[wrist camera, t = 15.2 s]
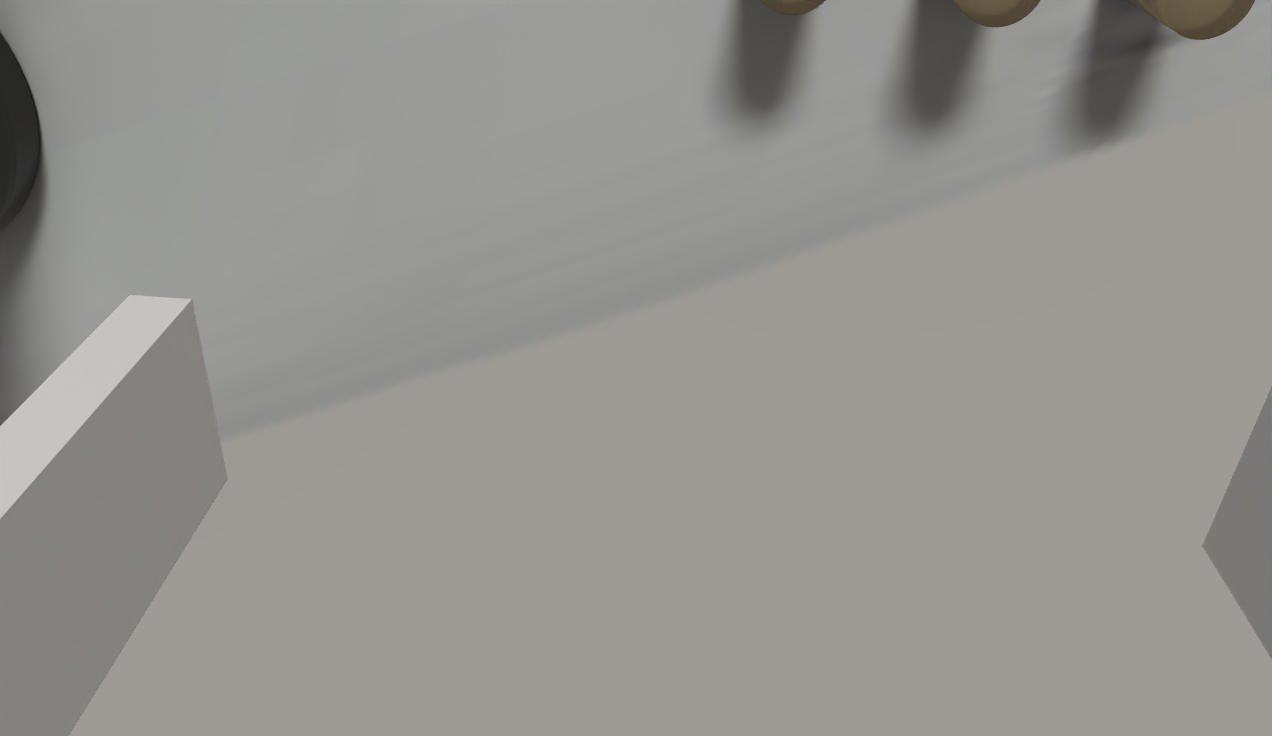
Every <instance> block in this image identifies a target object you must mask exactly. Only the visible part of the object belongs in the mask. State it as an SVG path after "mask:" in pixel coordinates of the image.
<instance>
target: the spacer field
mask: <svg viewBox="0 0 1272 736" xmlns="http://www.w3.org/2000/svg"><path fill="white" fill-rule="evenodd" d="M761 1H762V2H763V3H764V4H765V5H766V6H767V7H768V8H770V9H772V10H773V11H776V12H778V13H781V14H786V15H798V14H803V13H807V12H809V11H811V10H813V9H815V8H817V7H818V6H820V5H821V4H822V3H823V2H824V1H825V0H761ZM953 1H954V2H955V3H956V4H957V5H958V6H959V7H960V8H961V10H962V11H963V12H964V13H965V14H966V15H967V16H968V17H969V18H970V19H971V20H973V21H974V22H976V23H978V24H980V25H983V26H987V27H1003V26H1007V25H1011V24H1013V23H1016V22H1018V21H1020V20H1021V19H1023V18H1024V17H1026V16H1027V15H1028V14H1029V13H1030V12H1032V10H1033V9H1034V8H1035V7H1036V6H1037V5H1038V3H1039V2H1040V0H953ZM1127 1H1129V2H1130V3H1132V4H1134V5H1135V6H1137V7H1138V8H1140V9H1141V10H1143V11H1144V12H1146V13H1147V14H1149V15H1151V16H1152V17H1154V18H1155V19H1157V20H1158V21H1160V22H1161V23H1163V24H1164V25H1166V26H1167V27H1169V28H1171V29H1172V30H1174V31H1175V32H1177V33H1178V34H1180V35H1181V36H1184V37H1186V38H1190V39H1196V40H1203V39H1210V38H1214V37H1217V36H1219V35H1222V34H1224V33H1226V32H1227V31H1229V30H1230V29H1232V28H1233V27H1235V26H1236V25H1237V24H1238V23H1239V22H1240V21H1241V20H1242V19H1243V18H1244V17H1245V16H1246V15H1247V13H1248V12H1249V10H1250V9H1251V7H1252V5H1253V3H1254V1H1255V0H1127Z"/></svg>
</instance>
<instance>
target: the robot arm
mask: <svg viewBox="0 0 1272 736" xmlns="http://www.w3.org/2000/svg"><path fill="white" fill-rule="evenodd" d="M38 156H39V136H38V126H37V119H36V114H35V109H34V105H33V102H32V98H31V95H30V92H29V89H28V86H27V83H26V81H25V78H24V76H23V74H22V71H21V69H20V67H19V65H18V63H17V61H16V59H15V57H14V55H13V53H12V51H11V50H10V48H9V46H8V45H7V43H6V41H5V40H4V38H3V37H2V35H1V34H0V230H1V229H2V228H3V227H5V226H6V225H7V224H8V223H9V222H10V221H11V220H12V219H13V218H14V217H15V215H16V214H17V213H18V212H19V210H20V209H21V207H22V206H23V204H24V203H25V201H26V199H27V197H28V195H29V193H30V191H31V188H32V186H33V182H34V179H35V176H36V171H37V165H38ZM226 481H227V474H226V469H225V464H224V458H223V453H222V449H221V443H220V438H219V433H218V428H217V423H216V418H215V413H214V408H213V403H212V398H211V393H210V388H209V383H208V378H207V373H206V368H205V363H204V358H203V353H202V348H201V342H200V337H199V332H198V327H197V322H196V317H195V312H194V307H193V302H192V299H180V298H165V297H150V296H135V295H129V296H128V297H127V298H126V299H125V300H124V301H123V302H122V303H121V304H120V305H119V306H118V308H117V309H116V310H115V311H114V312H113V313H112V314H111V315H110V316H109V317H108V318H107V319H106V320H105V321H104V322H103V323H102V324H101V325H100V326H99V327H98V328H97V329H96V330H95V331H94V332H93V333H92V334H91V335H90V336H89V337H88V338H87V339H86V340H85V341H84V342H83V343H82V344H81V345H80V346H79V347H78V348H77V349H76V350H75V351H74V352H73V353H72V354H71V355H70V356H69V357H68V358H67V359H66V360H65V361H64V362H63V363H62V364H61V365H60V366H59V367H58V368H57V369H56V370H55V371H54V372H53V373H52V374H51V375H50V376H49V377H48V378H47V379H46V380H45V381H44V382H43V383H42V384H41V385H40V387H39V388H38V389H37V390H36V391H35V392H34V393H33V394H32V395H31V396H30V397H29V398H28V399H27V400H26V401H25V402H24V403H23V404H22V405H21V406H20V407H19V408H18V409H17V410H16V411H15V412H14V413H13V414H12V415H11V416H10V417H9V418H8V419H7V420H6V421H5V422H4V423H3V424H2V425H1V426H0V736H69V734H70V733H71V731H72V729H73V728H74V726H75V725H76V723H77V721H78V720H79V718H80V716H81V715H82V713H83V712H84V710H85V709H86V707H87V705H88V704H89V702H90V700H91V699H92V697H93V696H94V694H95V692H96V691H97V689H98V688H99V686H100V684H101V683H102V681H103V679H104V678H105V676H106V675H107V673H108V671H109V670H110V668H111V666H112V665H113V663H114V661H115V660H116V658H117V657H118V655H119V654H120V652H121V650H122V649H123V647H124V645H125V644H126V642H127V641H128V639H129V637H130V636H131V634H132V632H133V631H134V629H135V628H136V626H137V624H138V623H139V621H140V620H141V618H142V616H143V615H144V613H145V611H146V610H147V608H148V606H149V605H150V603H151V602H152V600H153V599H154V597H155V595H156V594H157V592H158V591H159V589H160V587H161V586H162V584H163V582H164V581H165V579H166V578H167V576H168V574H169V573H170V571H171V570H172V568H173V566H174V564H175V563H176V561H177V560H178V558H179V556H180V555H181V553H182V551H183V550H184V549H185V547H186V545H187V544H188V542H189V540H190V539H191V537H192V535H193V534H194V532H195V531H196V529H197V528H198V526H199V524H200V523H201V521H202V519H203V518H204V516H205V515H206V513H207V511H208V510H209V508H210V507H211V505H212V503H213V502H214V500H215V498H216V497H217V495H218V494H219V492H220V490H221V489H222V487H223V485H224V484H225V482H226ZM1203 548H1204V549H1205V551H1206V553H1207V554H1208V556H1209V558H1210V559H1211V561H1212V562H1213V564H1214V566H1215V567H1216V569H1217V571H1218V572H1219V574H1220V575H1221V577H1222V579H1223V580H1224V582H1225V584H1226V585H1227V587H1228V588H1229V590H1230V592H1231V593H1232V595H1233V597H1234V598H1235V600H1236V602H1237V603H1238V605H1239V606H1240V608H1241V610H1242V611H1243V613H1244V615H1245V616H1246V618H1247V619H1248V621H1249V623H1250V624H1251V626H1252V628H1253V629H1254V631H1255V633H1256V634H1257V636H1258V637H1259V639H1260V641H1261V642H1262V644H1263V646H1264V647H1265V649H1266V651H1267V652H1268V654H1269V655H1270V657H1271V659H1272V387H1271V390H1270V392H1269V395H1268V397H1267V399H1266V401H1265V403H1264V406H1263V408H1262V410H1261V413H1260V415H1259V417H1258V420H1257V422H1256V424H1255V426H1254V429H1253V431H1252V433H1251V435H1250V438H1249V440H1248V442H1247V445H1246V447H1245V449H1244V452H1243V454H1242V456H1241V458H1240V461H1239V463H1238V466H1237V468H1236V470H1235V472H1234V475H1233V477H1232V479H1231V481H1230V484H1229V486H1228V488H1227V491H1226V493H1225V495H1224V497H1223V500H1222V502H1221V504H1220V507H1219V509H1218V511H1217V514H1216V516H1215V518H1214V520H1213V523H1212V525H1211V527H1210V529H1209V532H1208V534H1207V536H1206V539H1205V541H1204V543H1203Z"/></svg>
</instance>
